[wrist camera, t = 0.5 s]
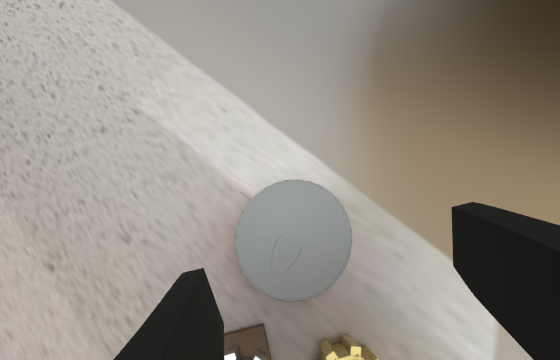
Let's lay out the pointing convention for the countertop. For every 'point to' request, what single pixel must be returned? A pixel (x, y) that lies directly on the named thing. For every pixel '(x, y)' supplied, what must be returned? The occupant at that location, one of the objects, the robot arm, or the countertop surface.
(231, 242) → the countertop surface
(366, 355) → the brass gear
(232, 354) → the gear
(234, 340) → the gear board
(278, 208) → the canned food
